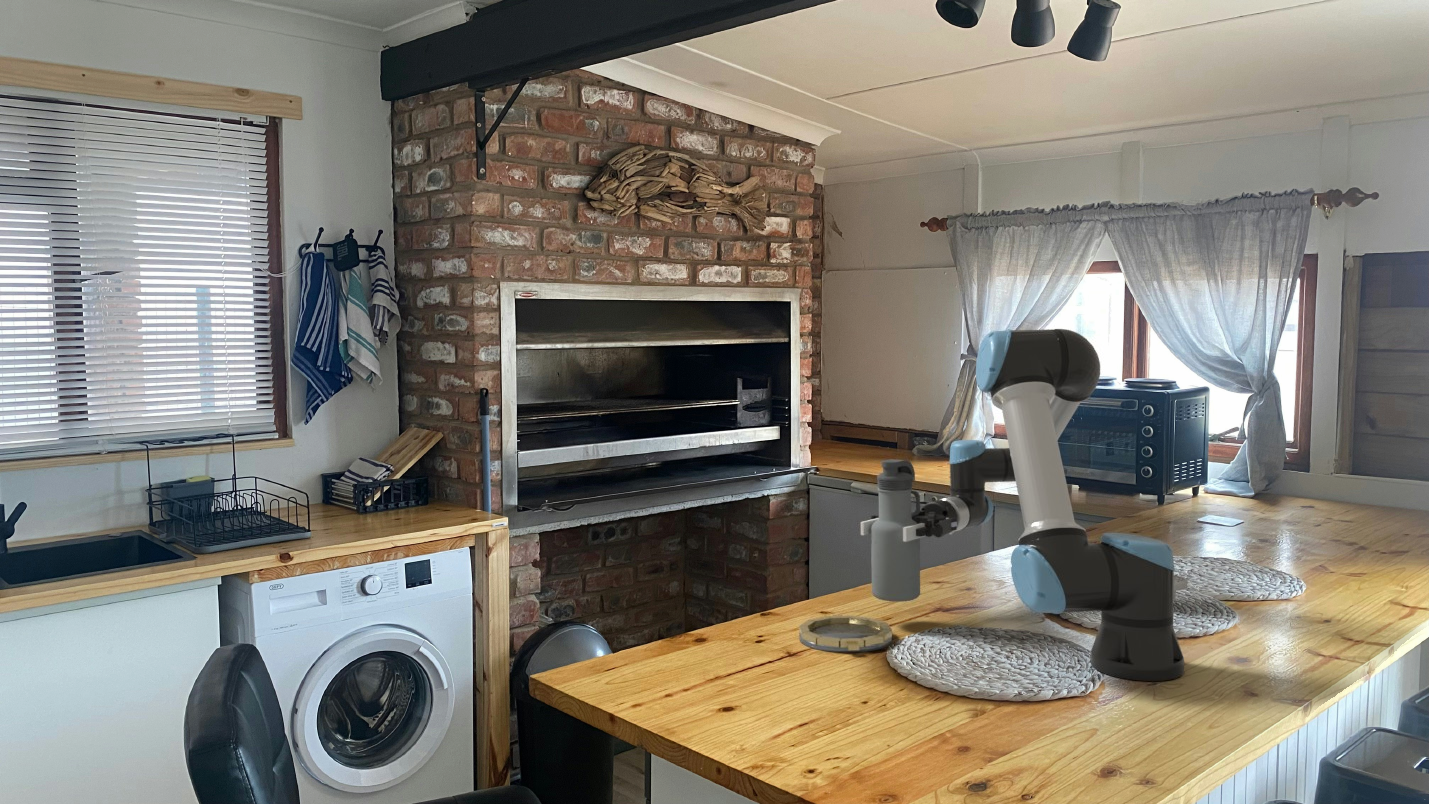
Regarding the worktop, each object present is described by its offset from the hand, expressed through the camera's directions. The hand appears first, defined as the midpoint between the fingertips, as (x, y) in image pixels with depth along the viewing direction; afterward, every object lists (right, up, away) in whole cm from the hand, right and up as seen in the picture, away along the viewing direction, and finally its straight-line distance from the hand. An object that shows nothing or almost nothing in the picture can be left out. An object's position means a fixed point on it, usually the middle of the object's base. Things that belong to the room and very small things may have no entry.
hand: (882, 531), depth 204 cm
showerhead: (+61, -18, +12) cm, 65 cm away
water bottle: (+3, -14, +4) cm, 15 cm away
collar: (-8, -20, -5) cm, 23 cm away
